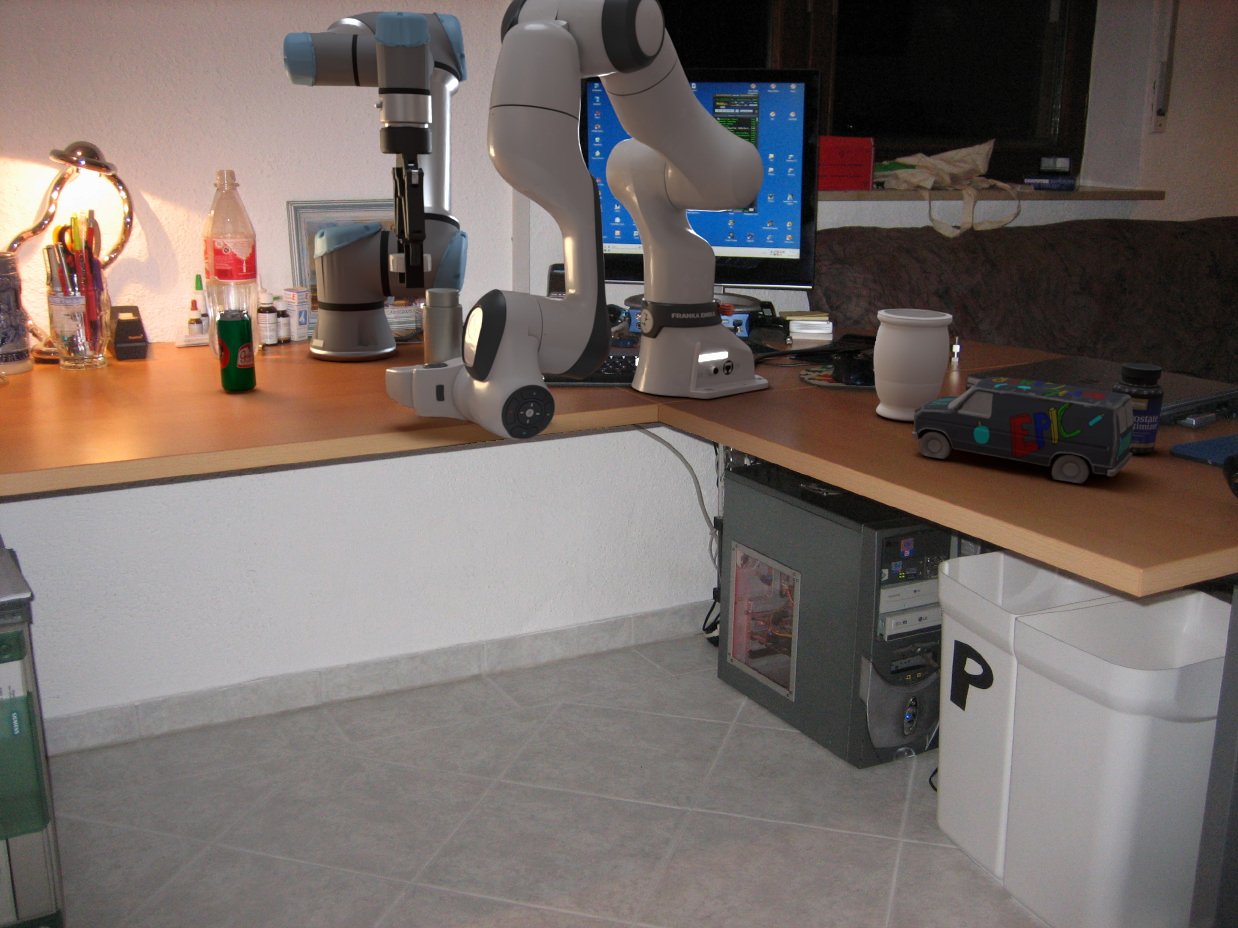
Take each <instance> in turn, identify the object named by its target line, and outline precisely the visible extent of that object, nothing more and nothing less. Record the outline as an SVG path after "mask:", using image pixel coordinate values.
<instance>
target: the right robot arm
mask: <svg viewBox="0 0 1238 928" xmlns="http://www.w3.org/2000/svg"><path fill="white" fill-rule="evenodd" d="M664 15H665V14H664V11H663V7H662V5H661V3H660V1H659V0H512V1H511V2H510V3H509V5H508V7H507V8H506V11H505V13H504V14H503V17H502V20H501V25H500V43H501V46H500V49H499V54H498V56H497V61H496V66H495V68H494V75H493V80H492V84H491V90H490V98H489V107H488V115H487V116H488V117H487V128H486V130H487V131H486V145H487V152H488V156H489V160H490V161H491V163H492V165H493V167H494V169H495V171H496V172H497V173H498V175H499V176H500V177H501V178H502V180H503V181H505V182H506V183H507V184H508V186H510V187H512V188H513V190H514V191H516V192H519V193H520V195H523V196H524V197H526V198H528V199H529V200H531V201H532V202H533V203H535V204H537V205H538V206H539V207H541V208H542V209H543V210H544V211H546V212H547V213H548V214H549V215H550V216H551V217H552V218H553V220H554V221H555V222H556V224H557V225H558V227H559V230H560V233H561V238H562V247H563V249H562V251H563V266H564V267H563V268H564V287H565V294H564V297H555V296H545V295H538V294H532V293H530V292H529V293H528V292H522V291H514V290H506V289H499V288H494V289H491V290H489V291H488V292H486V293H485V294H483V295H482V296H481V297H480V298H479V299H478V300H477V301H476V303H475V304H474V305H473V306H472V308H471V309H470V310H469V311H468V312H467V314H466V317H465V320H464V322H463V326H464V328H463V333H462V344H461V350H462V356H461V357H460V358H454V359H451V360H449V361H445V362H441V363H436V364H430V365H425V364H415V365H409V366H397V367H393V366H392V367H389V368H387V369H386V370H385V375H384V381H385V391H386V394H387V397H389V398H390V399H392V400H393V401H394V402H397V403H398V404H399V405H401V406H403V407H405V408H406V407H407V408H409V409H413V410H414V414H415V415H416V416H419V417H421V418H451V419H456V420H461V421H466V422H468V421H470V422H472V423H474V424H477V425H479V426H480V427H481V428H482V429H483V430H485V431H487V432H489V433H490V434H493V435H496V436H498V437H500V438H503V439H508V440H511V441H524V440H529V439H532V438H535V437H537V436H538V435H539V434H541V433H543V431H545V430H546V429H548V427H549V425H550V424H551V423H552V421H553V419H554V417H555V413H556V399H555V396H554V395H553V393H552V391H551V390H550V388H549V387H548V385H547V384H546V382H545V376H544V375H543V374H552V375H554V376H557V377H558V376H559V377H564V378H569V379H574V380H584V379H586V378H588V377H590V376H591V375H592V374H593V373H595V372H596V371H597V370H599V368H601V367H602V366H603V364H605V362H606V361H607V359H608V358H609V356H610V353H611V350H612V345H613V344H612V343H613V331H612V325H611V319H610V314H609V310H608V304H607V293H606V275H605V274H606V271H605V253H604V251H605V250H604V235H603V234H604V233H603V215H602V203H601V196H600V189H599V184H598V180H597V179H596V177H595V176H594V175H593V173H592V172H591V171H590V170H589V169H588V167H587V165H586V162H585V159H584V157H583V153H582V149H581V144H580V118H581V117H580V116H581V102H582V101H581V99H582V79H583V80H584V79H585V80H586V79H588V78H593V77H594V78H595V77H599V79H600V81H601V84H602V86H603V88H604V90H605V93H606V94H607V95H606V96H607V97H608V99H609V101H610V104H611V106H612V108H613V110H614V112H615V115H616V118H617V119H618V121H619V123H620V125H621V127H622V129H623V130H624V131H625V132H626V134H627V135H628V136H630V137H631V138H629V139H628V138H627V139H623V140H621V141H619V142H618V143H617V144H616V145H614V147H613V148H612V149H611V151H610V153H609V156H608V158H607V161H606V167H605V177H606V183H607V187H608V188H609V190H610V192H611V194H612V196H613V197H614V198H615V199H616V200H617V201H618V202H619V203H620V204H621V205H622V206H623V207H624V208H625V209H626V211H627V212H628V214H629V215H630V217H631V219H632V220H633V223H634V225H635V227H636V230H637V232H638V235H639V239H640V242H641V247H642V255H643V298H642V299H641V301H640V315H639V316H640V319H639V320H640V321H639V323H640V334H641V337H640V344H639V345H640V346H639V353H638V358H636V359H635V366H636V368H635V372H634V376H633V379H632V382H631V384H630V385H631V387H632V388H633V389H634V390H637V391H639V392H642V393H646V394H651V395H658V396H668V397H669V396H670V397H684V398H694V399H702V400H708V399H709V400H710V399H714V398H721V397H726V396H731V395H736V394H742V393H747V392H753V391H759V390H763V389H767V388H769V381H768V379H766V378H764V377H763V376H761V375H758V374H756V367H755V365H756V363H757V362H759V361H763V360H766V359H770V358H775V357H783V356H794V355H806V354H820V353H822V354H823V353H836V351H838V350H842V349H846V348H858V347H859V348H860V347H864V345H860V344H858V345H859V346H852V345H850V346H851V347H843V346H840V347H841V348H829V347H823V348H824V349H819V348H820V347H815V348H801V349H800V348H798V349H787V350H779V351H773V352H772V351H771V352H766V353H762V354H759V355H756V356H754V353H753V351H752V348H751V347H750V346H749V345H748V344H747V343H745V342H744V341H743V340H742V339H741V338H739V337H738V335H736V334H735V333H734V332H732V331H731V330H730V329H729V328H728V327H727V326H726V325H725V324H723V319H722V316H725V317H728V318H731V317H733V316H734V314H735V313H736V312H735V311H736V306H735V305H734V304H733V303H727V302H723V303H721V304H720V303H719V302H718V301H717V300H715V299H714V297H715V280H716V279H715V277H716V254H715V251H714V249H713V247H712V246H711V244H710V243H709V242H708V241H707V240H706V239H705V238H704V237H702V236H700V235H699V234H697V233H696V232H695V230H694V229H693V228H692V226H691V223H690V222H689V219H688V214H687V211H698V212H699V211H701V212H725V211H731V210H736V209H741V208H742V209H743V208H746V207H748V206H750V205H751V204H752V203H753V202H754V201H755V199H756V198H757V197H758V196H759V193H760V191H761V189H762V186H763V183H764V182H763V181H764V176H765V170H764V169H765V168H764V162H763V159H762V157H761V154H760V152H759V151H758V149H757V147H756V146H755V145H754V144H753V143H752V142H750V141H748V140H746V139H744V138H742V137H740V136H738V135H736V134H735V133H733V132H732V131H730V130H729V129H727V128H726V127H725V126H724V125H722V124H721V123H720V122H719V121H718V120H717V119H716V118H715V117H714V116H713V115H712V114H711V113H710V112H709V111H708V110H707V109H706V108H705V107H704V106H703V104H702V103H701V102H700V101H699V99H698V98H697V96H696V95H695V92H694V91H693V89H692V86H691V85H690V82H689V80H688V77H687V76H686V74H685V71H684V68H683V66H682V64H681V61H680V59H679V55H678V53H677V50H676V48H675V46H674V43H673V41H672V39H671V36H670V34H669V32H668V30H667V28H666V22H665V16H664ZM873 334H876V335H877V332H876V331H875V332H873ZM838 352H839V351H838Z"/></svg>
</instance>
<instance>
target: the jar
mask: <svg viewBox="0 0 1238 928" xmlns="http://www.w3.org/2000/svg"><path fill="white" fill-rule="evenodd" d="M877 319H878V321H880V325H879V327H878V329H877V332H876V333H877V336H876V341H875V345H874V346H873V372H874V384H875V385H874V386H875V391H876V395H877V398H878V399H879V401H880V402H879V404H877V405H878V406H877V407H876V409H875V412H876V413H877V415H879V416H881V417H884V418H887V419H889V420H890V419H891V420H896V421H903V422H914V414H915V410H916V409H918V408H919V407H921V406H923V405H924V404H926V403H929V402H931V401H934V400H936V399H939V396H940V393H941V391H942V388H943V384H944V378H945V377H946V376H945V375H946V373H947V369H948V364H949V360H950V359H949V357H950V334H949V327H948V326H949V325H951V324H952V323H953V315H952V314H950V313H947V312H943V311H936V310H929V309H918V308H888V309H880V310H878V311H877Z"/></svg>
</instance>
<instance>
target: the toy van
mask: <svg viewBox="0 0 1238 928" xmlns="http://www.w3.org/2000/svg"><path fill="white" fill-rule="evenodd" d="M1134 427H1135V426H1134V418H1133V410H1132V401H1131V396H1129V395H1127V394H1121V393H1115V392H1112V391H1108V390H1103V389H1102V390H1100V389H1094V388H1089V387H1081V386H1076V385H1068V384H1061V383H1054V382H1047V381H1042V380H1041V381H1040V380H1032V379H1026V378H1025V379H1024V378H1016V377H1015V378H1014V377H1003V376H989V377H985V378H982V379H981V380H979V381H977V382H976V383H975V384H974V385H972V386H971V387H970V388H969V389H967V390H966V391H964V392H963V393H962V394H960V395H959V396H950V395H946V396H942V397H939V398H937V399H936V400H934V401H931V402H929V403H926V404H924V405H923V406H921V407H919V408H918V409H916V410H915V414H914V421H913V431H912V432H911V435H912V438H913V440H914V441H918V449H919V450H918V451H919V452H920V453H921V455H922V456H925V457H931V458H937V459H942V460H945V459H947V458H948V457H949V456H950V455H951V452H952V449H953V450H958V451H963V452H969V453H974V454H979V455H984V456H990V457H991V456H992V457H997V458H1002V459H1008V460H1013V461H1017V462H1018V461H1019V462H1024V463H1028V464H1034V465H1039V466H1043V467H1044V466H1045V467H1051V466H1052V467H1051V476H1052V479H1053V480H1058V481H1062V482H1068V483H1074V484H1083V483H1084V482H1086V481H1087V480H1088V479H1089V475H1090V473H1091V472H1092V474H1095V475H1105V476H1107V477H1115V475H1116V474H1118V473H1119V472H1120V471H1121V470H1122V469H1123V468H1125V466H1126V464H1127V463H1129V462H1130V460H1131V458H1132V456H1133V455H1134V453H1131V452H1129V451H1130V448H1131V441H1132V436H1133V430H1134ZM1090 471H1091V472H1090Z"/></svg>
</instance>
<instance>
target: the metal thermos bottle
mask: <svg viewBox="0 0 1238 928" xmlns="http://www.w3.org/2000/svg"><path fill="white" fill-rule="evenodd" d="M425 292H426V297H425V303H424V304H423V305H422V322H423V323H422V324H423V325H422V326H423V328H422V329H424V333H423V353H424V354H423V355H424V357H423V359H424V365H430V364H436V363H441V362H445V361H449V360H451V359H454V358H460V357H461V356H462V350H461V344H462V333H463V326H464V319H463V318H464V316H463V312H464V311H463V304H461V303H460V295H461V294H460V293H459V290H457V289H452V288H433V289H427V290H426V291H425Z"/></svg>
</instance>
